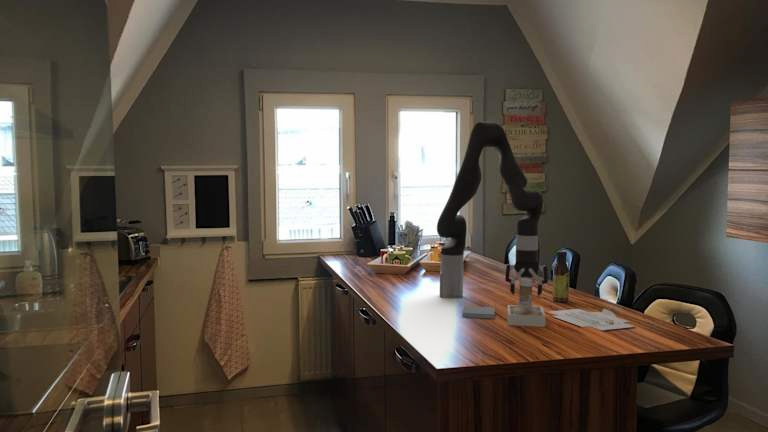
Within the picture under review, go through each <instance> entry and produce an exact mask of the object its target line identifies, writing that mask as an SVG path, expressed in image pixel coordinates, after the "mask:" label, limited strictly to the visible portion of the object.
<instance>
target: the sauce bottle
mask: <svg viewBox="0 0 768 432" xmlns="http://www.w3.org/2000/svg"><path fill="white" fill-rule="evenodd" d="M555 254H556V255H555V256H556V263H555V264H554V266H553V272H552V300H553V301H554V302H558V303H565V302H566V303H567V302H569V297H570V269H569V266H568V262H567V256H568V251H567V250H557V251H556V252H555Z"/></svg>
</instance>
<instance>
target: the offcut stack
mask: <svg viewBox="0 0 768 432" xmlns="http://www.w3.org/2000/svg"><path fill="white" fill-rule="evenodd" d="M513 314H517V315H536V316H538V310H537V309H536V308H513Z"/></svg>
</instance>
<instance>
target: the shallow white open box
mask: <svg viewBox="0 0 768 432" xmlns="http://www.w3.org/2000/svg"><path fill="white" fill-rule="evenodd" d="M513 308H519V304H518V305H517V304H516V305H515V304H514V305H512V304H507V307H506V309H507V310H506V311H507V314H506V315H507V325H508V326H518V327H519V326H521V327H537V328H538V327H540V328H546V319H547V318H546V314H545V311H544V308H543V306H539V305H538V306H537V305H536V306H534V305H532V308H536V309H537V310H538V316H536V315H517V314H513Z"/></svg>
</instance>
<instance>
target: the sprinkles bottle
mask: <svg viewBox="0 0 768 432" xmlns="http://www.w3.org/2000/svg"><path fill="white" fill-rule="evenodd" d="M518 283H519V284H518V285H519V291H518V292H519V295H518V296H519V299H518V306H519V308H532V306H533V286H534V280H532V279H530V278H528V279H526V278H523V279H519V281H518Z"/></svg>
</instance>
